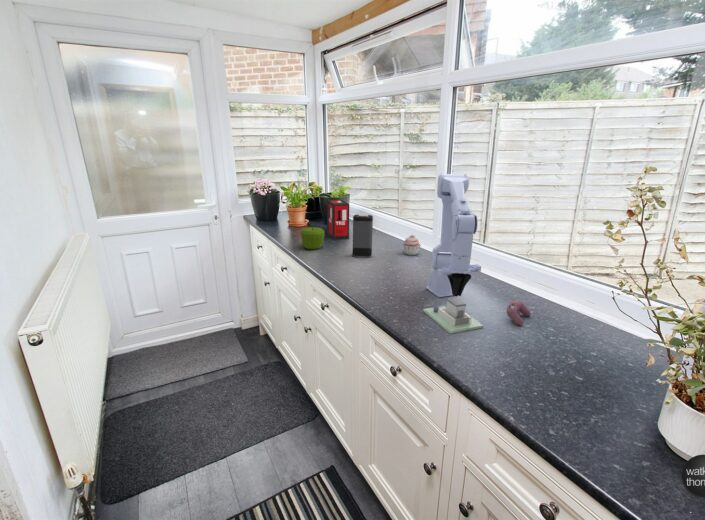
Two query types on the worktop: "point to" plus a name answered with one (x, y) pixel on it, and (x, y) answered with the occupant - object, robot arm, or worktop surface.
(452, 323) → the board
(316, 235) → the apple
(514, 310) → the video game controller
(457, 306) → the plug
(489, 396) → the worktop surface
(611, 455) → the worktop surface
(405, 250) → the cupcake
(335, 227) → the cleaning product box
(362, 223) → the electronic device
